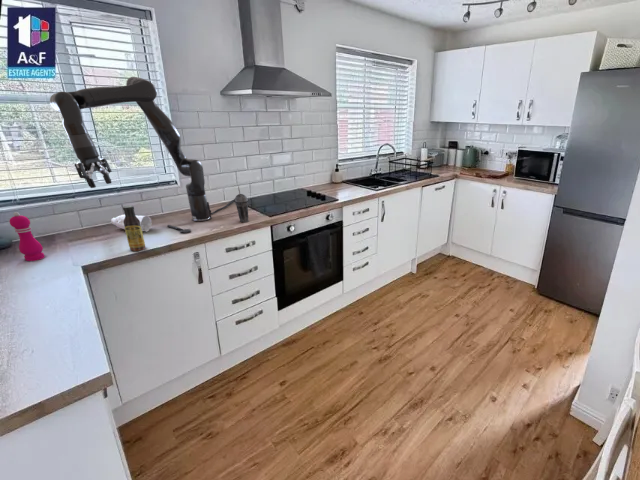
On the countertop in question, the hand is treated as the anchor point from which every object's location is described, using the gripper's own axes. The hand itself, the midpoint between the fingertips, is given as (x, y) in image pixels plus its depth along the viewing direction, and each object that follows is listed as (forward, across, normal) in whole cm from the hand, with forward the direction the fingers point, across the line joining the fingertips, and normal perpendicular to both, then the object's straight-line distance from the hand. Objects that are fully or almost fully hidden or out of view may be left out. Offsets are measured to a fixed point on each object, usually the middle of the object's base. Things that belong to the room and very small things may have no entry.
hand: (101, 185), depth 160 cm
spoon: (+30, +26, -8) cm, 40 cm away
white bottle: (+26, +20, +14) cm, 36 cm away
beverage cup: (+34, +49, -33) cm, 68 cm away
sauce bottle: (+29, -3, -7) cm, 30 cm away
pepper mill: (+24, -22, +25) cm, 41 cm away
